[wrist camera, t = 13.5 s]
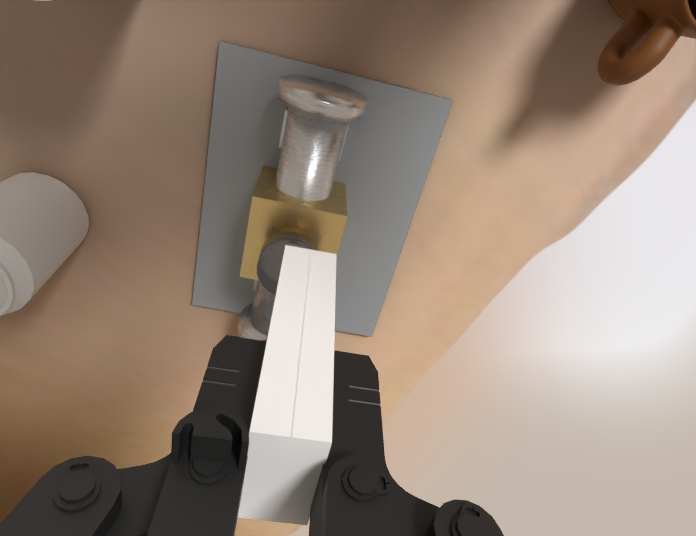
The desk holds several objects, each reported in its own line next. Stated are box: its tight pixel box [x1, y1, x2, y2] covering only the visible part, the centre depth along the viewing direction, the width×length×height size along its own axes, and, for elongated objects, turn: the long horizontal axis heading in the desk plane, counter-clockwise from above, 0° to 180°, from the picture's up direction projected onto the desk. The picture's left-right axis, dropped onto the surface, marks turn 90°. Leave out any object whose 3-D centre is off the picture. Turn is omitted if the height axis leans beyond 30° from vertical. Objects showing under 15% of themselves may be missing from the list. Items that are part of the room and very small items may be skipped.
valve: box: [238, 74, 368, 341], centre depth 41 cm, size 22×7×8 cm, turn 166°
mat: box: [192, 41, 453, 337], centre depth 44 cm, size 24×18×1 cm
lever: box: [257, 231, 319, 341], centre depth 39 cm, size 15×4×2 cm, turn 171°
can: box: [0, 172, 89, 316], centre depth 38 cm, size 8×8×12 cm
